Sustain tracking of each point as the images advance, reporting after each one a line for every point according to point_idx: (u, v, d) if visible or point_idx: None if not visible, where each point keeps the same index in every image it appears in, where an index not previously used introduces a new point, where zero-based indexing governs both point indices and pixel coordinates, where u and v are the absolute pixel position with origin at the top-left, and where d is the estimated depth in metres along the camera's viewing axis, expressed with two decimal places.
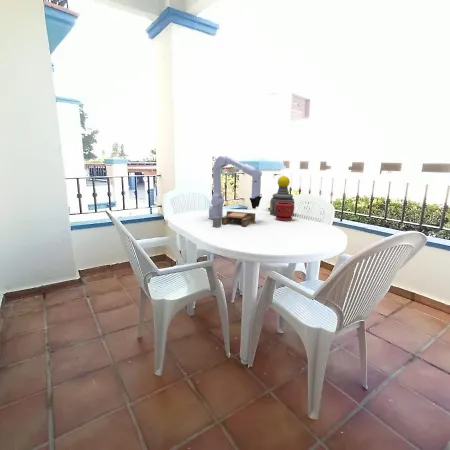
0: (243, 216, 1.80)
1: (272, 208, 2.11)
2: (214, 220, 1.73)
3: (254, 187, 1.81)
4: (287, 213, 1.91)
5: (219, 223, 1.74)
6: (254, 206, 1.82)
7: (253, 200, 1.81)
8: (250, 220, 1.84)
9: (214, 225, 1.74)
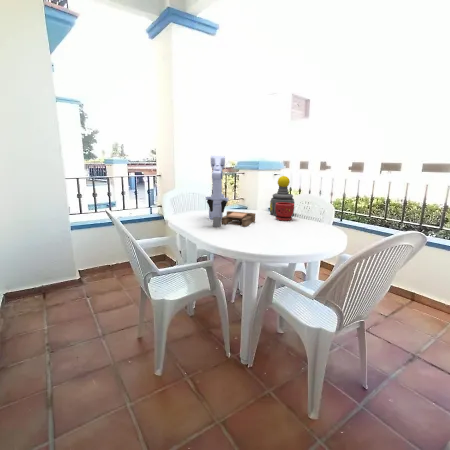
0: (243, 216, 1.80)
1: (272, 208, 2.11)
2: (214, 220, 1.73)
3: None
4: (287, 213, 1.91)
5: (219, 223, 1.74)
6: None
7: None
8: (250, 220, 1.84)
9: (214, 225, 1.74)
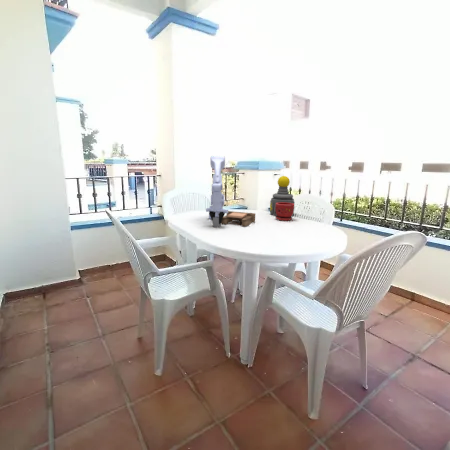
0: (243, 216, 1.80)
1: (272, 208, 2.11)
2: (214, 220, 1.73)
3: None
4: (287, 213, 1.91)
5: None
6: None
7: None
8: (250, 220, 1.84)
9: (214, 225, 1.74)
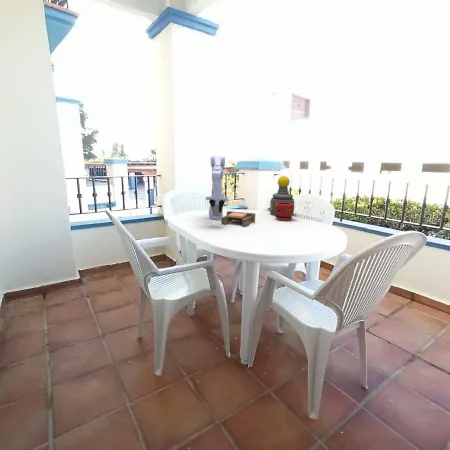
0: (243, 216, 1.80)
1: (272, 208, 2.11)
2: (214, 209, 1.71)
3: None
4: (287, 213, 1.91)
5: (219, 212, 1.72)
6: None
7: None
8: (250, 220, 1.84)
9: (214, 214, 1.72)
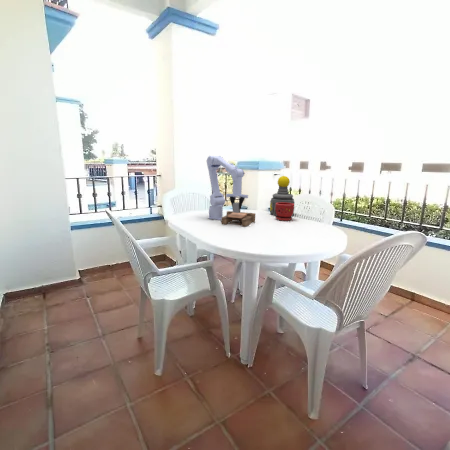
0: (243, 216, 1.80)
1: (272, 208, 2.11)
2: (234, 206, 1.79)
3: (233, 187, 1.76)
4: (287, 213, 1.91)
5: (239, 209, 1.79)
6: None
7: None
8: (250, 220, 1.84)
9: (234, 210, 1.79)
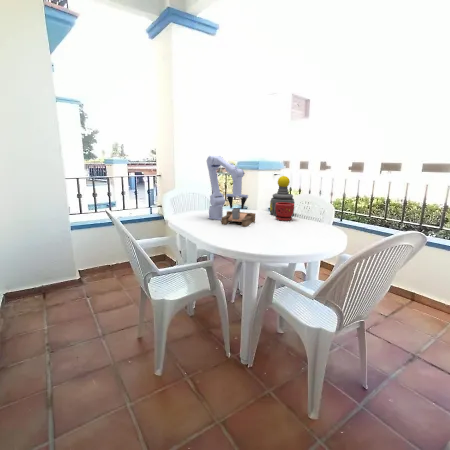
0: None
1: (272, 208, 2.11)
2: (233, 213, 1.79)
3: (233, 187, 1.76)
4: (287, 213, 1.91)
5: (238, 215, 1.80)
6: None
7: None
8: (250, 220, 1.84)
9: (234, 217, 1.81)
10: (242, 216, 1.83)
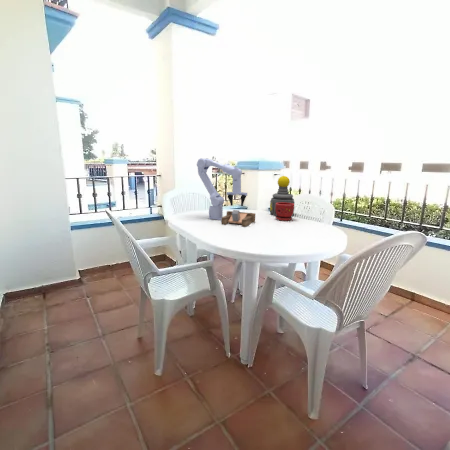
0: None
1: (272, 208, 2.11)
2: (233, 215, 1.79)
3: (234, 186, 1.86)
4: (287, 213, 1.91)
5: (238, 217, 1.81)
6: None
7: None
8: (250, 220, 1.84)
9: (234, 219, 1.81)
10: (242, 217, 1.84)
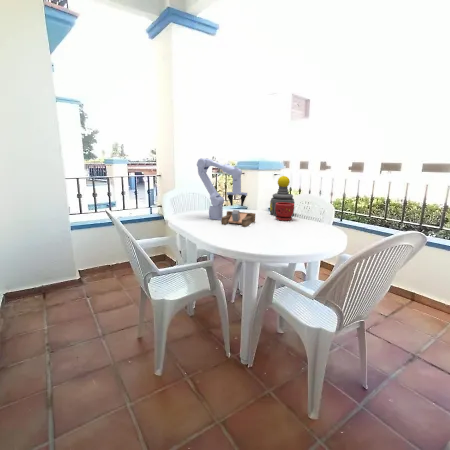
0: None
1: (272, 208, 2.11)
2: (233, 215, 1.79)
3: (234, 186, 1.86)
4: (287, 213, 1.91)
5: (238, 217, 1.81)
6: None
7: None
8: (250, 220, 1.84)
9: (234, 219, 1.81)
10: (242, 217, 1.84)
